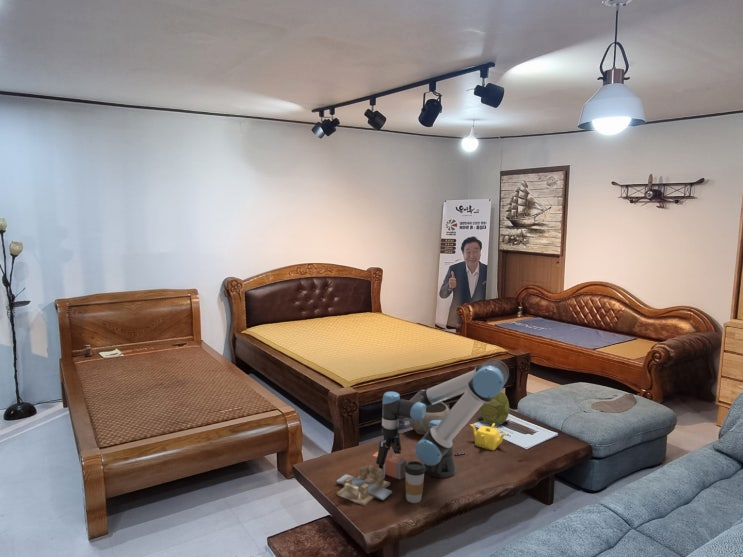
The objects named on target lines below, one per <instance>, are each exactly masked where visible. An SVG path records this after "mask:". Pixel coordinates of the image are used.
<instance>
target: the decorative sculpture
mask: <svg viewBox="0 0 743 557" xmlns="http://www.w3.org/2000/svg"><path fill="white" fill-rule="evenodd" d="M509 403H510V402H509V399H508V396H507V395H506V393H505V392H504V391H503V389H502V390H501V392H500V393H499V394H497V395H496V396H495V397H494V398H493V399H492V400H491V402H489V403H484V404H483V405H482V406H481V407H480V408H479V411H480V416H481V418H482V419H483V421H484V422H485V423H487V422H488V423H487V424H489V423H491V424H490V425H492V424H493V423H495V424H499V425H503V424H504V423H505V422H506V421H507V419H508V417H509V415H510V414H509V413H510V404H509Z"/></svg>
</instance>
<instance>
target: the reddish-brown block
mask: <svg viewBox="0 0 743 557" xmlns="http://www.w3.org/2000/svg"><path fill="white" fill-rule="evenodd" d="M377 456H378V451H377V452H375V453H374V454H372V456H371V458H372V459H371V462H372V464H371V465H372V466H375V467H378V468H379V464H376V461H377ZM384 464H385V476H386V475H387V476H389V477H391V478H394V479H398V480H402V479H403V478H404V477H406V476H405V466H406V464H407V459H404V458H400V457H398V458H397V457H394V456H392V455H391V454H388V453H387V456H386V459H385V463H384Z"/></svg>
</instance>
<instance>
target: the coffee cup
mask: <svg viewBox="0 0 743 557" xmlns="http://www.w3.org/2000/svg"><path fill="white" fill-rule="evenodd" d="M423 464H424V463H422V462H421V461H418V460H417V461H416V460H412V461H411V460H410V461H408V462H406V466H405V476H404V477H405V479H404V480H405V481H404V482H405V498H406V501H407V502H409V503H412V504H417V503H420V502H421V501H422V496H423V491H424V489H423V488H424V481H425V480H424V479H425V478H424V477H425V473H426V472H425V467H424V465H423Z"/></svg>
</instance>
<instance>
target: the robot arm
mask: <svg viewBox="0 0 743 557" xmlns="http://www.w3.org/2000/svg"><path fill="white" fill-rule="evenodd" d="M509 377H510V371H509V367H508V366H507V365H506V363H505V362H503V361H502V360H500V359H494V358H493V359H489V360H486V361H485V362H483V363H482V364H479V365H477V366H475V367H474V369H473V370H471V371H467V372H466V373H464V374H461V375H458V376H457V377H454V378H451V379H449V380H447V381H444V382H442V383H439V384H437V385H434V386H432V387H430V388H429V387H428V388H427V389H421V390H420V391H418V392H417V393H416V394H414V396H412V397H411V398H410V399H409V400H408V399H404V398H401V397H400V396H401V395H400V393H399V392H396V391H386V392H384V394H383V396H382V401H381V402H382V415H381V416H382V417H381V435H382V436H383V440H381V441H379V445H378V446H379V447H378V451H377V452H378V456H377V461H376V464H379V468H381V469H382V472H383V473H384V479H385V478H386V477H385V476H386V474H385V464H384V463H385V459H386V456H387V454H388V452H389V451H390V450H391V448H392V450H393V451H392V455H391V456H394V457H397V458H399V454H401V451H402V446H401V440H400V432H399V427H400V426H399V423H400V422H399V421H400V420H399V419H400V418H401V417H402V418H406V419H408V418H410V419H413V420H423V419H424V416H425V414H426V408H427V407H429V406H432V405H434V404H437V403H439V402H444V401H446V400H449V399H452V398H455V397H458V396H460V395H461V397H460V398H459V399H458V400H457V401H456V402H455V403H454V405H453V406H452V407H451V409H450V411H449V412H448V413H447V415H446V416H445V417H444V418H443V419H442V420H432V421H430V422H429V430H428V432H427V433H426V434H425V435H423V437H421V439H420V440H418V441H417V443H416V445H415V455H416V457H417V458H418V460H419V462H421V463H422V464H423V465H424V467H425V473H426V475H427V474H428V475H430V476H432V477H435V478H443V479H444V478H450V477H452V476H454V475H455V474H456V472H457V464H456V460H455V458H454V440H455V438H456V436H458V434H459V433H460V432H461V430H462V429H463V428H464V427H465V426H466V425H467V423H469V421H470V420H471V419H472V418H474V415H476V413H477V412H478V411H480V407H481V406H482V405H483V404H484V403H489V402H491V400H492V399H493V398H494V397H495V396H496V395H497V394H499V393H500V392H501V390H502V391H503V389H504V386H505V385H506V383H507V382H508V379H509Z"/></svg>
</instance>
